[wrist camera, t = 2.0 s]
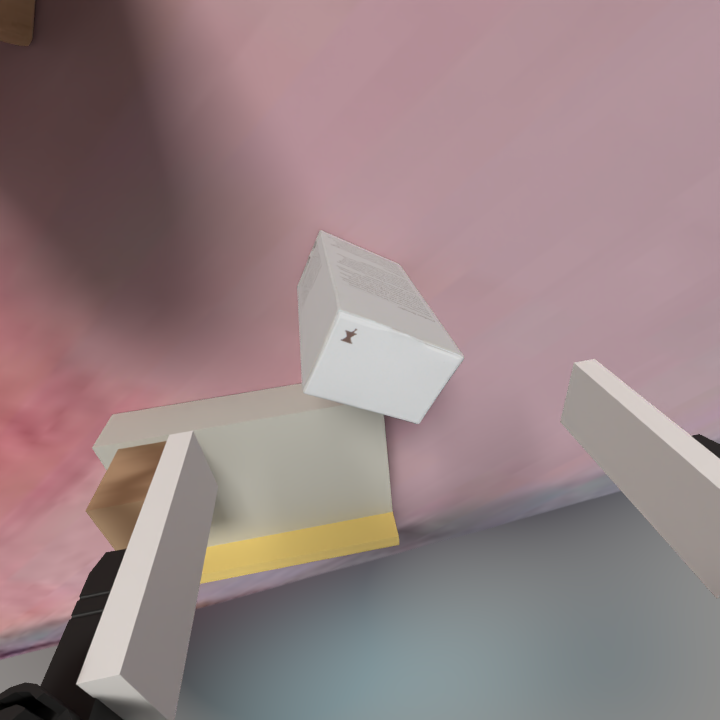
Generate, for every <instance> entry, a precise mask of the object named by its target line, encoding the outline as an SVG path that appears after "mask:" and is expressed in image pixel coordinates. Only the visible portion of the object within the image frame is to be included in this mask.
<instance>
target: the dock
mask: <svg viewBox="0 0 720 720" xmlns="http://www.w3.org/2000/svg"><path fill="white" fill-rule="evenodd" d="M188 431H194V434H195V436H196V438H197V440H198V443H199V445H200V447H201V449H202V452H203V454H204V456H205V458H206V460H207V463H208V465H209V467H210V469H211V472H212V474H213V476H214V478H215V481H216V483H217V485H218V491H217V496H216V501H215V507H214V512H213V517H212V522H211V528H210V533H209V538H208V544H207V549H206V554H205V560H204V565H203V570H202V575H201V581H200V584H201V583H206V582H211V581H216V580H222V579H227V578H232V577H237V576H242V575H247V574H252V573H257V572H262V571H268V570H273V569H278V568H283V567H288V566H293V565H298V564H303V563H308V562H313V561H319V560H324V559H329V558H334V557H339V556H344V555H349V554H354V553H359V552H365V551H370V550H375V549H380V548H385V547H390V546H395V545H399V536H398V532H397V528H396V523H395V519H394V515H393V511H392V500H391V488H390V477H389V466H388V455H387V444H386V433H385V422H384V415H383V414H379V413H376V412H372V411H368V410H364V409H360V408H356V407H352V406H349V405H345V404H341V403H337V402H334V401H330V400H326V399H323V398H319V397H315V396H311V395H307V394H304V393H303V390H302V383H300V384H294V385H288V386H282V387H276V388H270V389H264V390H258V391H252V392H246V393H240V394H234V395H228V396H222V397H216V398H210V399H204V400H198V401H192V402H186V403H180V404H174V405H168V406H162V407H156V408H150V409H144V410H138V411H132V412H126V413H120V414H114V415H112V416H111V418H110V419H109V421H108V423H107V424H106V426H105V427H104V429H103V431H102V432H101V434H100V436H99V437H98V439H97V441H96V442H95V444H94V446H93V447H92V448H93V450H94V452H95V453H96V455H97V456H98V458H99V459H100V461H101V462H102V464H103V465H104V467H105V468H106V470H107V469H108V467H109V466H110V464H111V462H112V460H113V458H114V456H115V454H116V452H117V450H118V449H123V448H128V447H134V446H140V445H146V444H152V443H158V442H163V441H167V439H168V436H169V435H171V434H177V433H182V432H188Z"/></svg>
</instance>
